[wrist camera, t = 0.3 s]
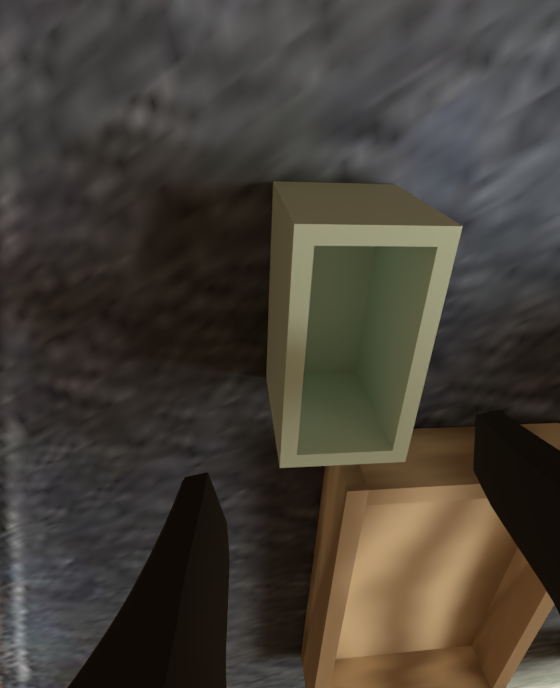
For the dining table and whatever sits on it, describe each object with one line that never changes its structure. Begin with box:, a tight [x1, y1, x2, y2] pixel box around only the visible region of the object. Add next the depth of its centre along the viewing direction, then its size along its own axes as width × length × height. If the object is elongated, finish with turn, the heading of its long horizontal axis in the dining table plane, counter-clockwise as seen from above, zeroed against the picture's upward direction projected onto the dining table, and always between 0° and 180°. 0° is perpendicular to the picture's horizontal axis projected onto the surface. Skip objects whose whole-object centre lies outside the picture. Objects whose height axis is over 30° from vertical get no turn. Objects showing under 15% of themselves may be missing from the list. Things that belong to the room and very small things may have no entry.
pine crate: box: [301, 423, 560, 688], centre depth 29 cm, size 14×22×4 cm, turn 177°
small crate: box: [266, 181, 463, 468], centre depth 17 cm, size 5×9×6 cm, turn 177°
